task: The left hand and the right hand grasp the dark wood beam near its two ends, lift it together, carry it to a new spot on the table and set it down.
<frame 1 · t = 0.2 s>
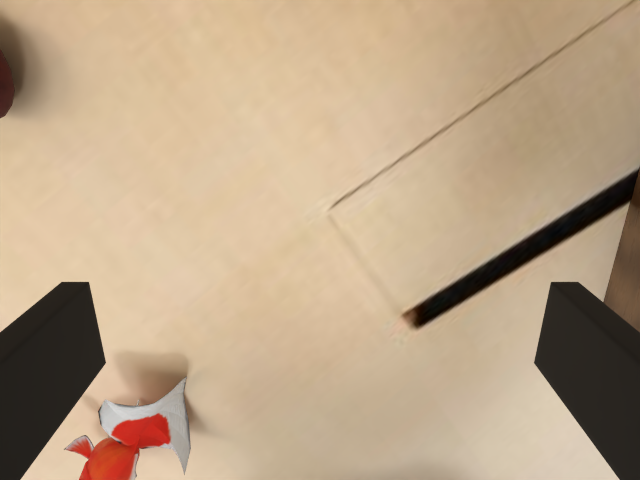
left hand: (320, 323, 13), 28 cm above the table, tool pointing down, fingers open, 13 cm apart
fish: (146, 408, 49), on the table
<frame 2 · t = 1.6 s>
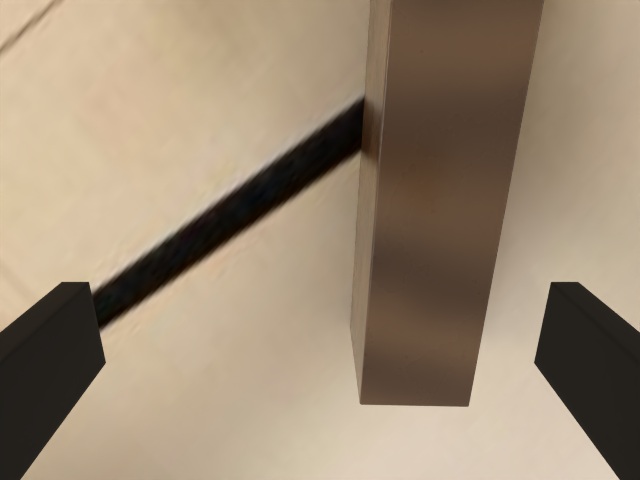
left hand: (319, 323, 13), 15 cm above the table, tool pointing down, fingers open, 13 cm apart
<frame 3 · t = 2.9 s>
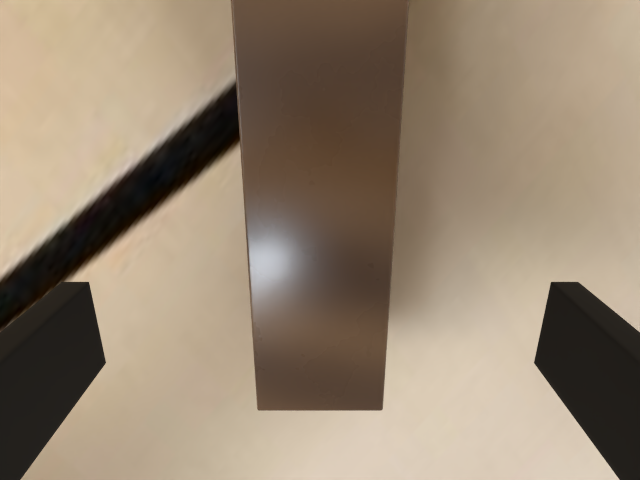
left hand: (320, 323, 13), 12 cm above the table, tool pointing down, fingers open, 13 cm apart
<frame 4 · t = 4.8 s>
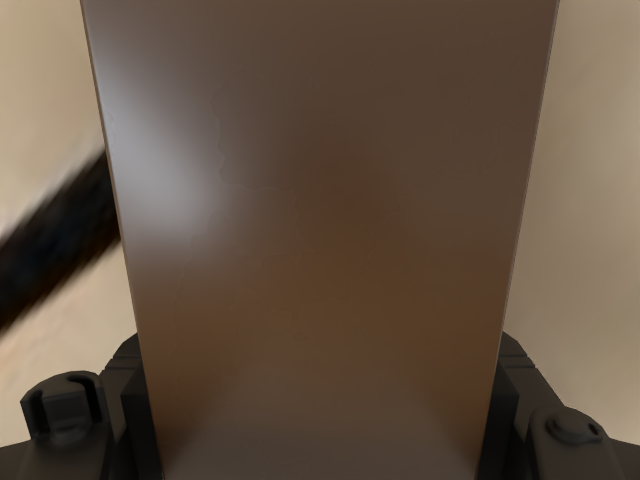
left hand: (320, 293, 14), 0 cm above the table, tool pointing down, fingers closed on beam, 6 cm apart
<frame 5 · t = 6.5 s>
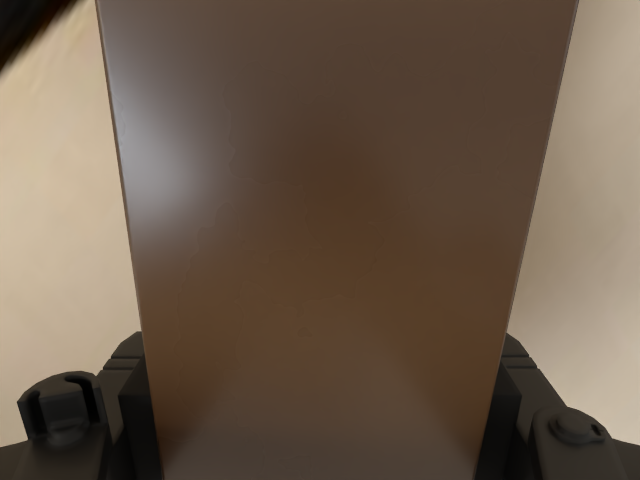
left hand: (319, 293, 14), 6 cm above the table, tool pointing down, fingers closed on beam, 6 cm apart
when the left hand's fingers open (2 cm above the table, at t = 8.2 s): beam drops 2 cm, on the table.
when the right hand's fingers open (2 cm above the table, at t = 8.2 s): beam drops 2 cm, on the table.
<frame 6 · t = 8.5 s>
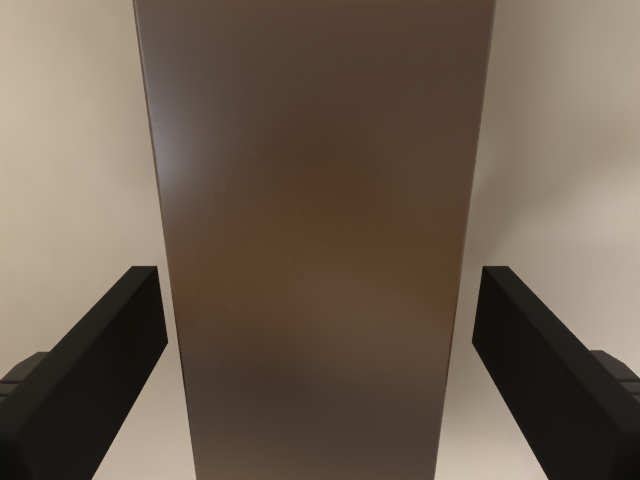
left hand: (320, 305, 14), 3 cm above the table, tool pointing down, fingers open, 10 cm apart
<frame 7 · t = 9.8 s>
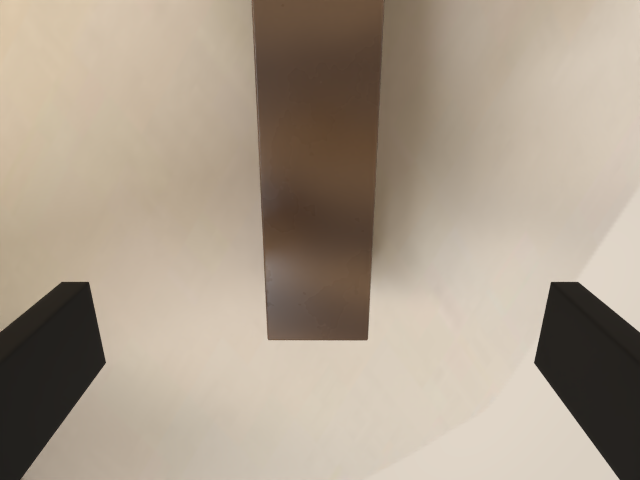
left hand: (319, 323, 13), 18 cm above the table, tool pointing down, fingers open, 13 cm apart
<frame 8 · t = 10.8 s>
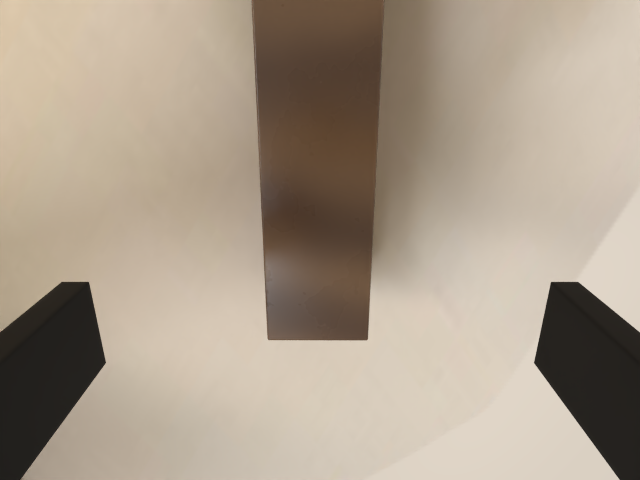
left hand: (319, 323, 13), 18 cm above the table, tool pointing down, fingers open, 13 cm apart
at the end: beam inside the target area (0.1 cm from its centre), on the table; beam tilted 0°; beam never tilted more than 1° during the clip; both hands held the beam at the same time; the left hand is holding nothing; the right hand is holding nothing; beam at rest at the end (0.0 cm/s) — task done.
